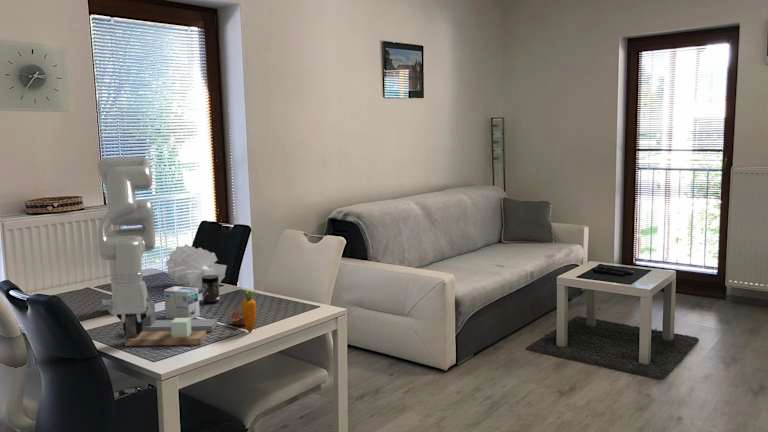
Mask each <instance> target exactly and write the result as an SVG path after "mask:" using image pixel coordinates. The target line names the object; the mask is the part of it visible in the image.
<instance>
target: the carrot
mask: <svg viewBox="0 0 768 432" xmlns="http://www.w3.org/2000/svg"><path fill="white" fill-rule="evenodd" d="M254 293H255V291H254V290H253V291H252V290H251V289H249V290H248V289H245V291H244V296H245V298H246V299H244V300H242V301H241V313H242V316H243V320H244V324H243V325H244V326H245V328H246V329H247V331H248V332H249V333H251V332H252V331H253V329H254V328H255V324H256V320H257V302H256V301H255V299H252V298H253V294H254Z"/></svg>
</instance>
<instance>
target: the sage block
mask: <svg viewBox="0 0 768 432" xmlns="http://www.w3.org/2000/svg"><path fill="white" fill-rule="evenodd" d="M172 320H173V321H172V322H171V332H172V337H188V336H189V335H190V333H191V320H192V319H191V318H175V319H172Z"/></svg>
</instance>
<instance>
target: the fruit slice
mask: <svg viewBox="0 0 768 432" xmlns="http://www.w3.org/2000/svg"><path fill="white" fill-rule="evenodd" d="M228 320H229V321H230V322H231V323H232V324H234V325H237V326H238V325H239V326H242V325H245V324H244V320H243V316H242V311H240V310H238V309H235V308H233V310H232V311H231V312H230V314H229V317H228Z"/></svg>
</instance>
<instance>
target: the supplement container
mask: <svg viewBox="0 0 768 432" xmlns="http://www.w3.org/2000/svg"><path fill="white" fill-rule="evenodd" d="M201 280H202V290H201V293H202V294H201V295H202V296H201V297H202V303H204V304H206V305H213V304H217V303H219V302H220V300H221V299H220V297H221V296H220V283H219V276H218V275H205V276H202V277H201Z"/></svg>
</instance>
